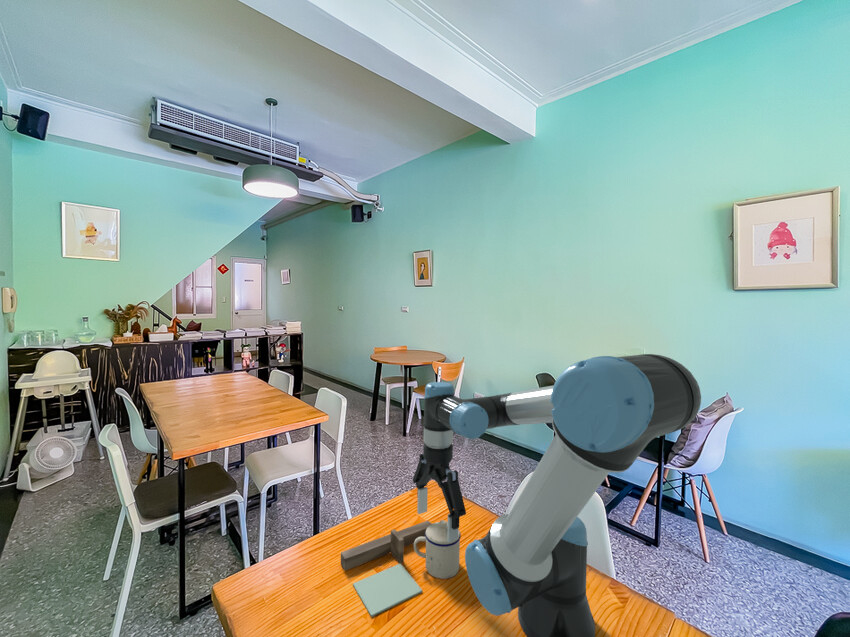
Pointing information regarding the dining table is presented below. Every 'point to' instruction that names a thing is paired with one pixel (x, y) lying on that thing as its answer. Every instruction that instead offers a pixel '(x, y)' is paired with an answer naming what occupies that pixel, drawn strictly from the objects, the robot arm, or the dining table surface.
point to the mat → (386, 589)
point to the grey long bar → (383, 546)
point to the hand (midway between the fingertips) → (436, 525)
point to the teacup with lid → (440, 551)
